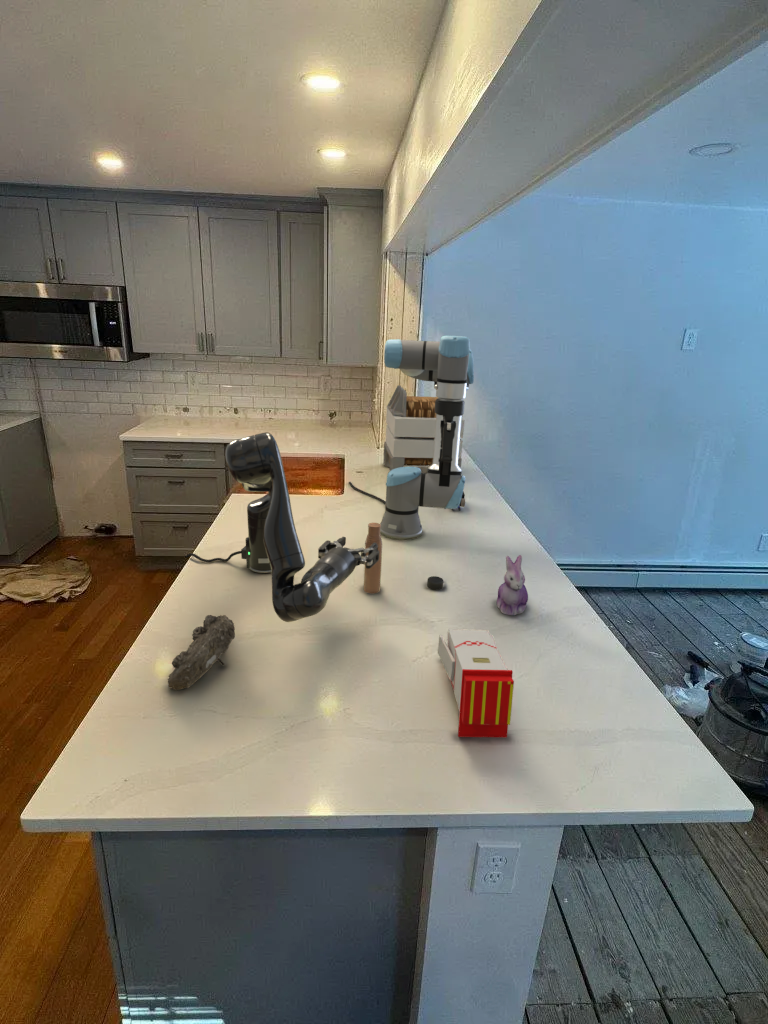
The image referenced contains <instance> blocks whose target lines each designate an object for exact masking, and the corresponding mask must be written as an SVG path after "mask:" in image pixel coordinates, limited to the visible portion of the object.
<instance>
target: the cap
mask: <svg viewBox="0 0 768 1024" xmlns="http://www.w3.org/2000/svg"><path fill="white" fill-rule="evenodd" d="M426 581H427V582H426V587H427V588H428V589H429V590H433V591H440V590H442V589H443V588H444V579H443V577H440V576H437V575H433V576H429V577H428V578H427V580H426Z"/></svg>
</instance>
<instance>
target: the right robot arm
mask: <svg viewBox="0 0 768 1024" xmlns="http://www.w3.org/2000/svg"><path fill="white" fill-rule="evenodd" d="M470 346H471V340H470V338H469V337H468V336H464V335H463V336H461V335H443V336H441V337H440V339H439V341H436V340H434V341H433V340H412V339H400V338H396V339H394V338H393V339H387V340H386V341H385V344H384V353H383V360H384V361H383V362H384V367H386V368H388V369H394V370H400V371H401V373H403V374H404V375H405V376H407V377H409V378H412V379H415V380H418V381H423V382H433V388H434V389H435V397H438V399H436V400H435V413H436V426H435V439H434V452H433V463H432V465H430V466H429V465H428V466H427V472H422V469H421V468H420V467H419V466H418V467H417V466H404V467H399V468H396V469H393V470H391V471H390V470H389V471H388V473H387V475H386V482H385V487H386V488H385V489H386V490H385V500H384V499H382V498H380V497H378V496H377V495H374V494H371V493H369V492H367V491H365V490H362V489H360V488H358V487H357V486H355V485H353V482H351V481H348V484H349V485H350V487H351V488H352V489H354V490H355V491H357V492H360V493H362V494H364V495H366V496H369V497H371V498H373V499H375V500H377V501H380V502H381V503H383V504H384V505H385V507H384V508H385V509H384V513H383V515H382V519H381V522H379V524H380V525H381V528H380V535H381V536H382V537H385V538H387V539H389V540H395V541H410V540H415V539H418V538H420V537H421V536H422V535H423V525H422V524H421V518H420V515H419V508H420V507H421V508H422V507H423V508H433V509H444V510H447V509H448V510H449V509H450V510H452V509H453V510H455V509H458V507H459V505H460V502H461V498H462V494H463V491H464V488H465V483H466V476H465V475H463V474H462V472H463V471H462V468H461V469H460V468H459V466H458V455H459V443H460V439H461V438H460V431H461V419H463V415H464V414H465V399H466V397H467V396H466V395H467V391H468V390H469V389H470V385H472V384H474V383H475V381H474V379H475V371H474V370H475V367H474V366H475V365H474V354H473V350H472V349H471V348H470Z"/></svg>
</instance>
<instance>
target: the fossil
mask: <svg viewBox="0 0 768 1024" xmlns="http://www.w3.org/2000/svg"><path fill="white" fill-rule="evenodd" d="M202 623H203V625H201V626H196V627H195V628H194V629H193V630H192V634H191V636H192V641H191V643H190V644H189V646H188V648H187V650H182V651H181V652H179V654H177V655H175V657H174V658H173V659H172V661H171V666H172V667H173V670H172V672H170V674H169V675H168V676H167V677H168V678H167V684H168V688H169V689H173V690H174V691H179V690H184V689H186V688H187V689H189V688H190V687H192V686H193V685H194V684H195V683H196V682H197V681H198V680H200V679H201V677H203V676H204V675H205V674H206V673H207V672H208V671H209V670H211V668H212V667H213V664H215V663H216V662H219V664H220V665H222V666H225V662H223V660H222V659H221V658H220V657H221V655H222V654H226V652H227V650H228V649H229V647H230V645H231V643H232V641H233V640H234V639H235V638H236V631H235V630H236V628H235V627H236V626H235V623H234V621H233V619H229V617H228V616H227V615H226V614H223V615H222V614H220V615H217V616H216V615H212V614H206V616H205V617H204V619H203V622H202Z"/></svg>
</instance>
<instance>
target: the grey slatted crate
mask: <svg viewBox="0 0 768 1024" xmlns="http://www.w3.org/2000/svg"><path fill="white" fill-rule="evenodd" d="M407 394H408V393H407V390H406V389H404V388H403V387H402V385H399V384H398V385H397V386H396V388H395V390H394V392H393V394H392V395H391V398H390V400H389V402H388V404H387V405H386V413H385V414H386V415H385V423H386V428H385V438H384V442H383V466H384V467H388V468H389V472H390V471H391V470H393V469H396V468H399V467H405V466H406V467H417V466H418V467H429V466H430V465H432V463H433V452H434V439H435V426H436V413H435V400H436V399H438V397H436V396H415V395H414V396H413V395H412V396H411V395H407ZM464 429H465V419H464V418H462V419H461V431H460V443H459V455H458V466H459V468H460V469H461V470H462V461H463V460H462V453H463V442H464V441H463V440H462V439H463V438H464V431H465V430H464Z"/></svg>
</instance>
